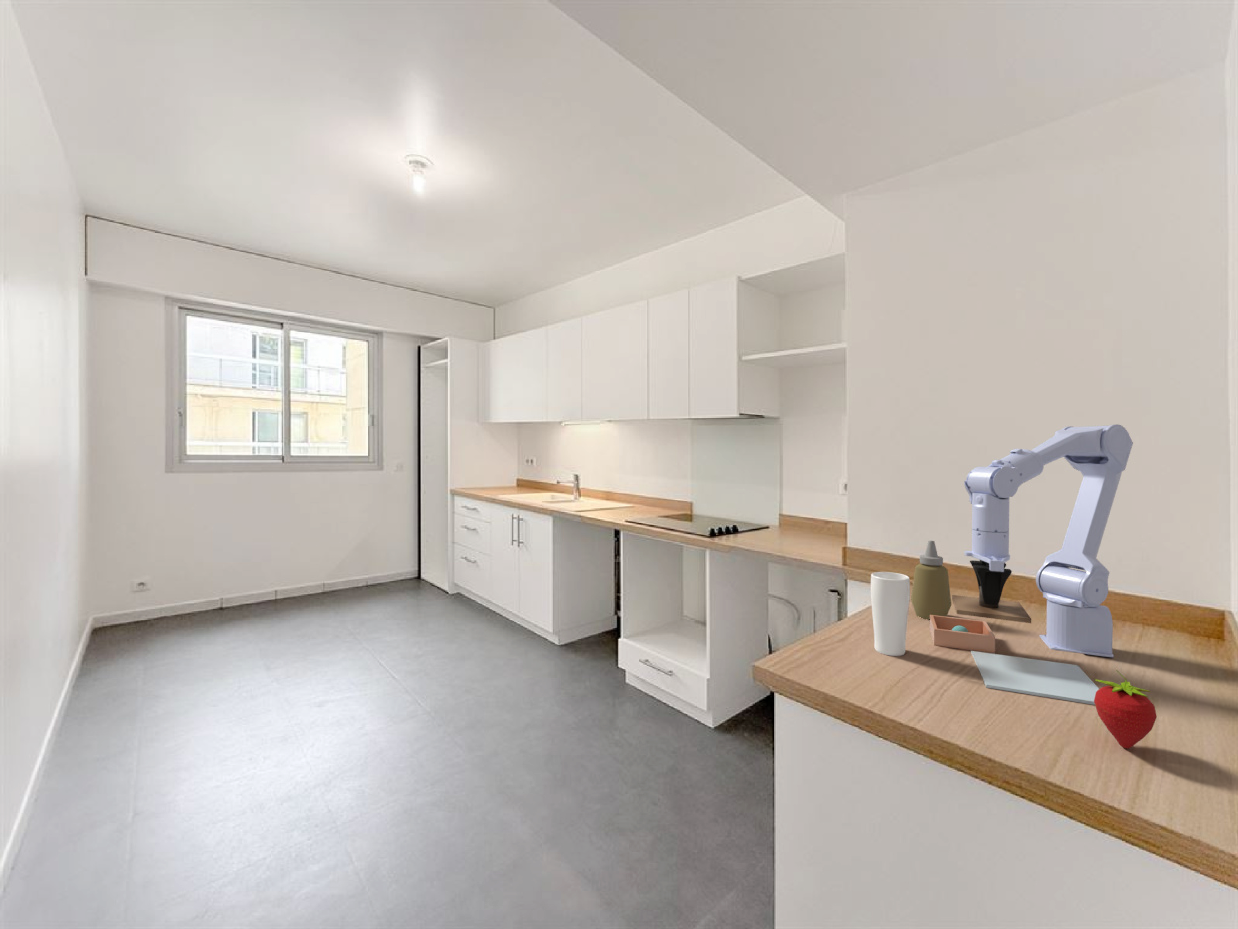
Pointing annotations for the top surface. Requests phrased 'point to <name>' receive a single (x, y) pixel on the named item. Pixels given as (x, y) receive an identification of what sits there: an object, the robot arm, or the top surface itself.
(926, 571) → the squeeze bottle
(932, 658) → the top surface
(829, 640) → the top surface
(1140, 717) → the strawberry
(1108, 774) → the top surface
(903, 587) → the white cup
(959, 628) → the ball
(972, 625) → the shallow cardboard tray
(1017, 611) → the lid
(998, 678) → the mat
